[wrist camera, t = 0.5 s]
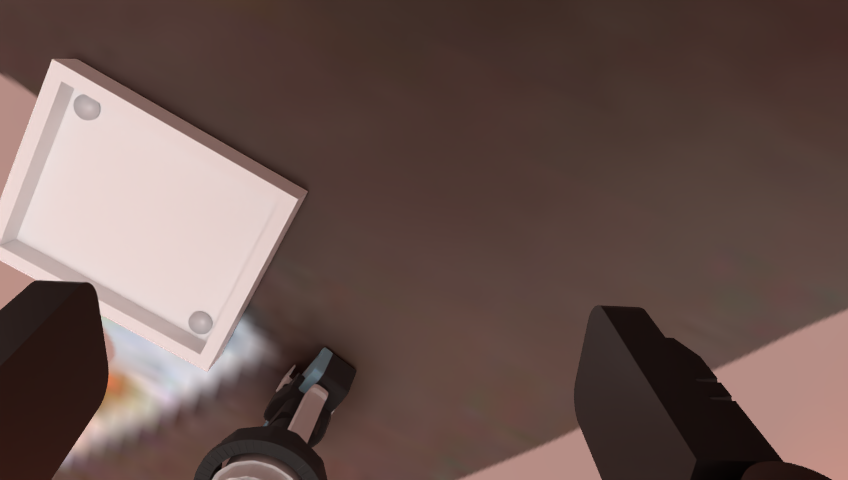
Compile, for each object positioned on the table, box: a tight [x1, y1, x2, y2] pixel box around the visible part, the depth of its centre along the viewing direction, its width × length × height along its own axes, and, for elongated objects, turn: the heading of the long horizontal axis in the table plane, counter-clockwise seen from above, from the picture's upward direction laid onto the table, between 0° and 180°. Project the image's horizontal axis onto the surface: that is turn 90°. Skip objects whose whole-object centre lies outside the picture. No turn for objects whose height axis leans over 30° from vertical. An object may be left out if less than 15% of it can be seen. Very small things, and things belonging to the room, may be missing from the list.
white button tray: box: [0, 59, 308, 372], centre depth 30 cm, size 10×12×2 cm
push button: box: [194, 347, 356, 480], centre depth 29 cm, size 7×5×10 cm
